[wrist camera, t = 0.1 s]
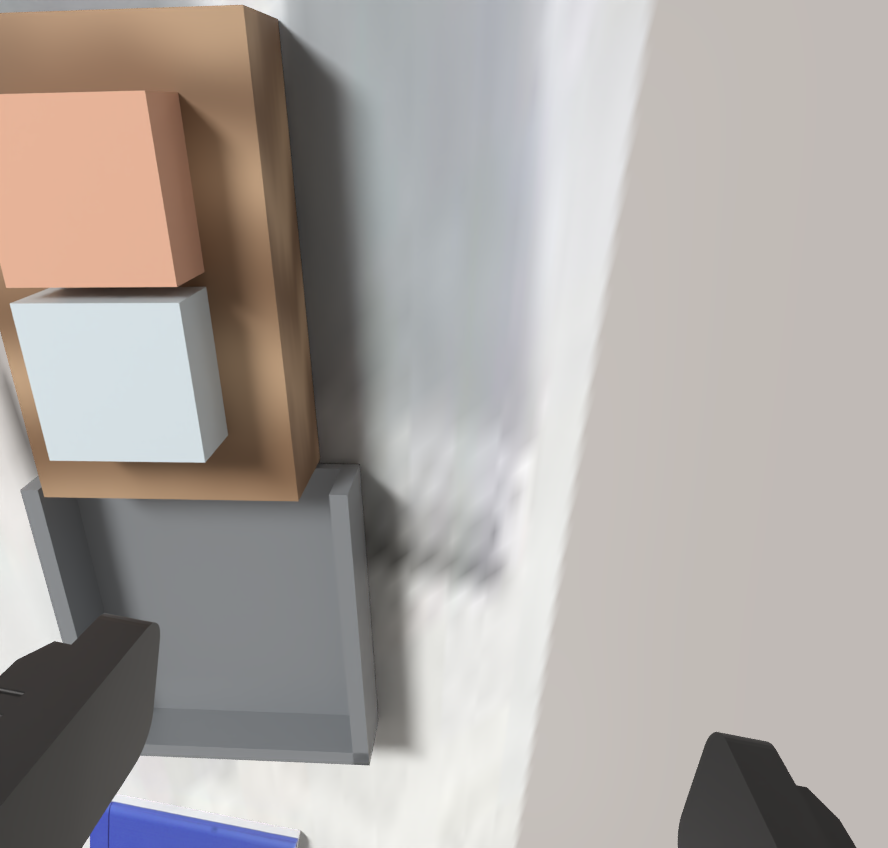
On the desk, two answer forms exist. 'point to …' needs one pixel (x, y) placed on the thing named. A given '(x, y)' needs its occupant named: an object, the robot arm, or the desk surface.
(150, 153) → the tile
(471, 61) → the desk surface
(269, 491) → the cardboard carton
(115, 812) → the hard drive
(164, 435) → the tile
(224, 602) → the box
